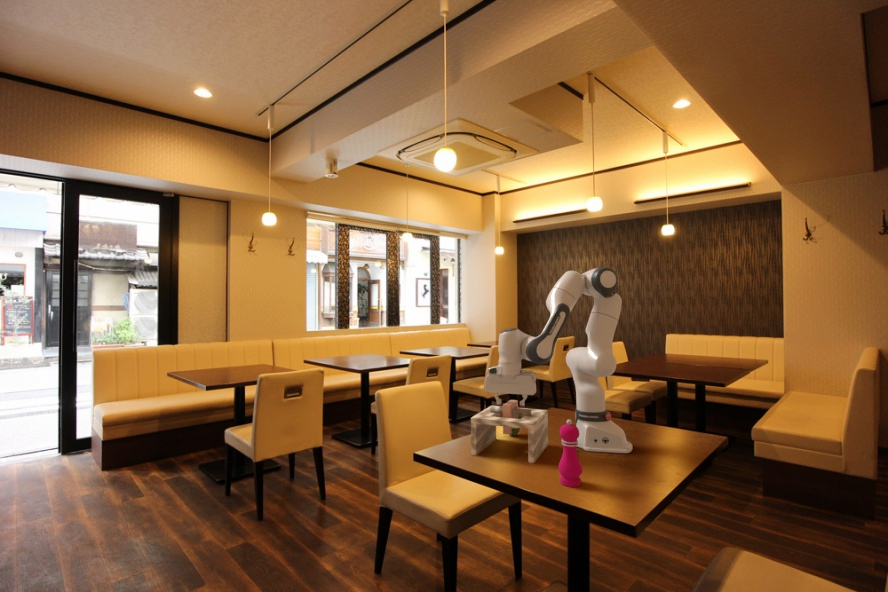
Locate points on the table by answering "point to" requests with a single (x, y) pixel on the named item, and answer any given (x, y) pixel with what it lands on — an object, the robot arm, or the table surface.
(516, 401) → the u piece
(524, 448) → the table surface
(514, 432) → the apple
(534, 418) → the shelf
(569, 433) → the pepper mill
